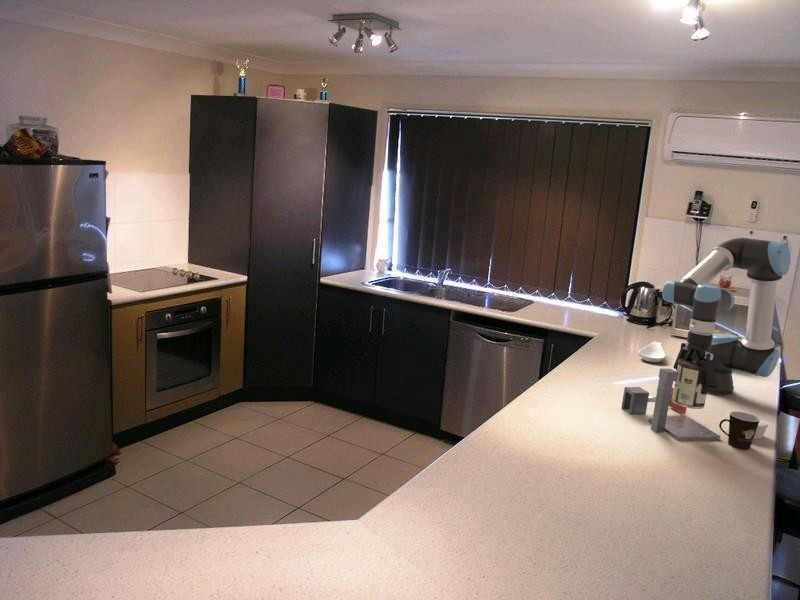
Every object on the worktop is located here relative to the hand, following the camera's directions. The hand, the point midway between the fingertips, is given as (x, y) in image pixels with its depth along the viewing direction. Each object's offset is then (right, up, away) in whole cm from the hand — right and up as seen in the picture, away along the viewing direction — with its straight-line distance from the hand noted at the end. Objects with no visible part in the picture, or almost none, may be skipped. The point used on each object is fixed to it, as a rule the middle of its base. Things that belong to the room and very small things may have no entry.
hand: (689, 397), depth 220 cm
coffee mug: (+12, -15, -6) cm, 20 cm away
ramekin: (+21, -13, +4) cm, 25 cm away
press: (-4, -10, +8) cm, 13 cm away
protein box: (+51, +2, +91) cm, 105 cm away
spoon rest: (+23, +4, +93) cm, 96 cm away
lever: (-4, -7, +19) cm, 20 cm away
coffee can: (0, -2, 0) cm, 2 cm away
